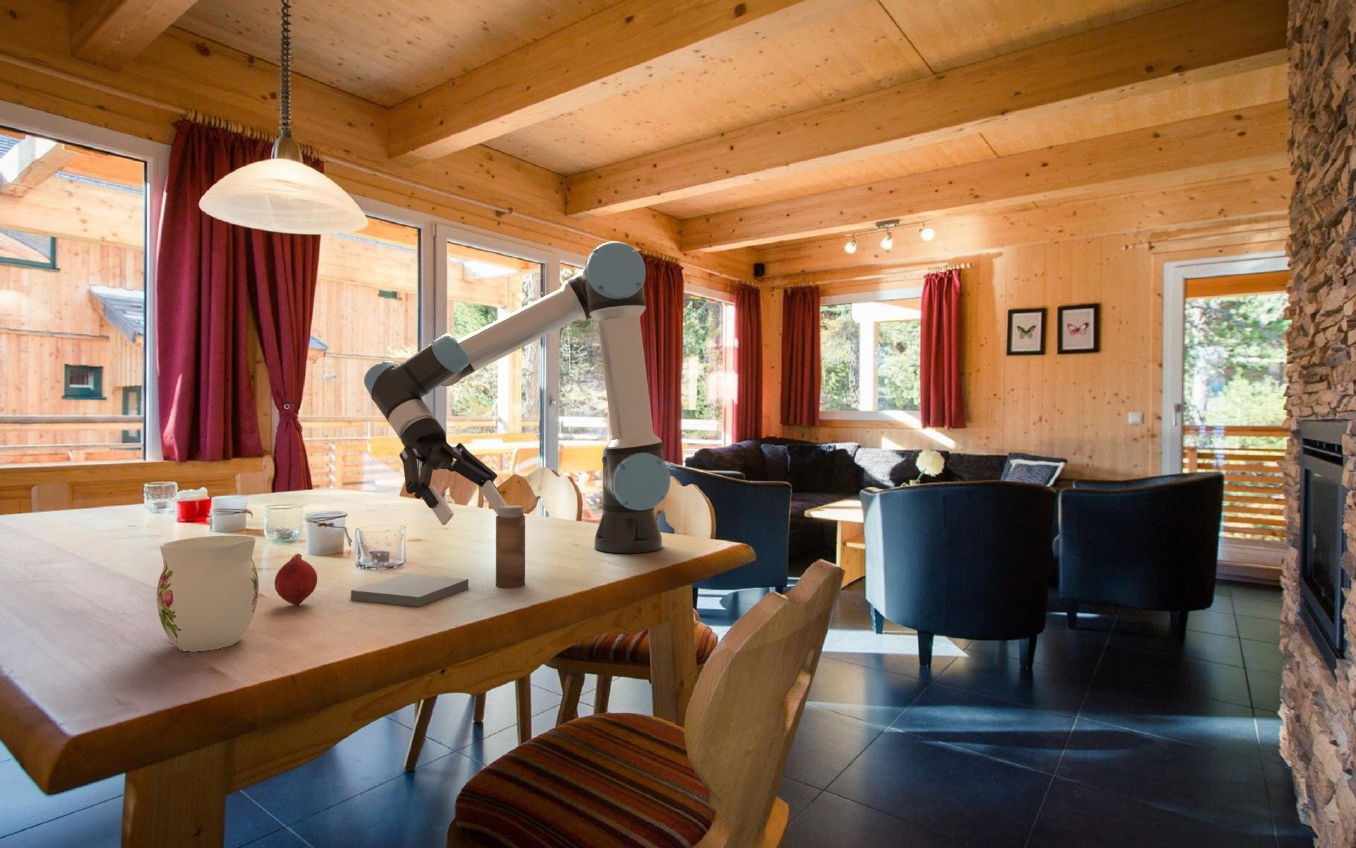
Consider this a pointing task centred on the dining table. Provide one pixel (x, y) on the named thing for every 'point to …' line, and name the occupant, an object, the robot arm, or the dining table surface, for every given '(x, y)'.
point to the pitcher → (207, 591)
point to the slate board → (410, 589)
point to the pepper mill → (510, 547)
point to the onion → (295, 580)
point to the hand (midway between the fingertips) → (477, 515)
